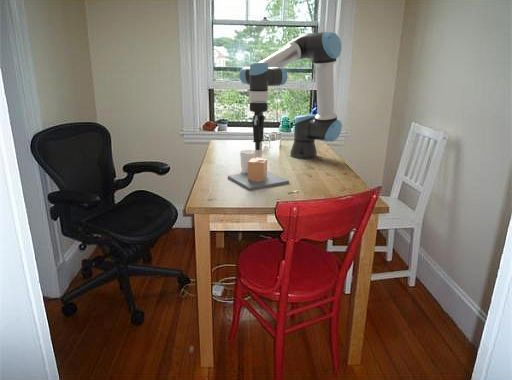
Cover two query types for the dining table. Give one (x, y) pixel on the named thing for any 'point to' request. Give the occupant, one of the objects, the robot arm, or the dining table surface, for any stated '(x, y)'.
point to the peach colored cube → (257, 169)
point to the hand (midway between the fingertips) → (258, 156)
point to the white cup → (246, 159)
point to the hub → (258, 181)
